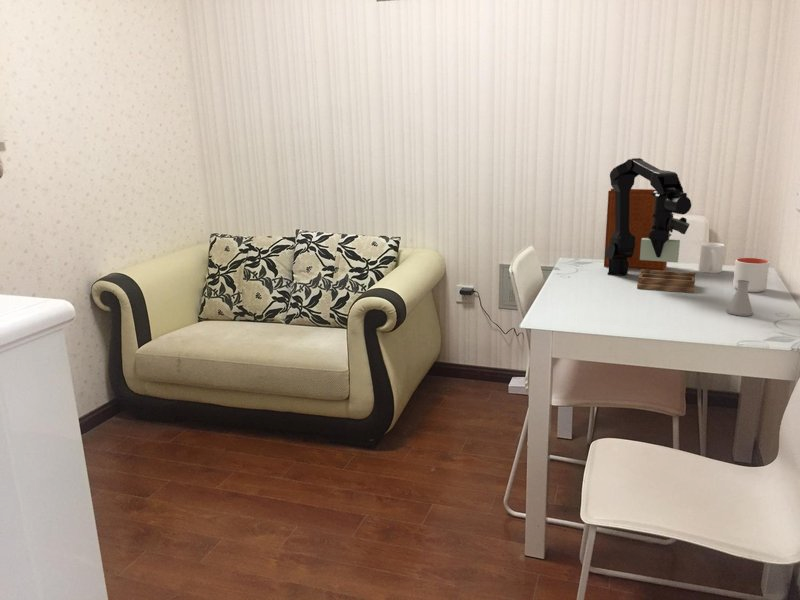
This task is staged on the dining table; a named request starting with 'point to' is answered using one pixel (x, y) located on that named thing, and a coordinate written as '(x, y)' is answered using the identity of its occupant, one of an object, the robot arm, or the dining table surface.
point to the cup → (751, 273)
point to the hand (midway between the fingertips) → (659, 256)
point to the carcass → (666, 280)
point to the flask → (741, 300)
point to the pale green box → (668, 251)
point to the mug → (711, 257)
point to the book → (635, 226)
